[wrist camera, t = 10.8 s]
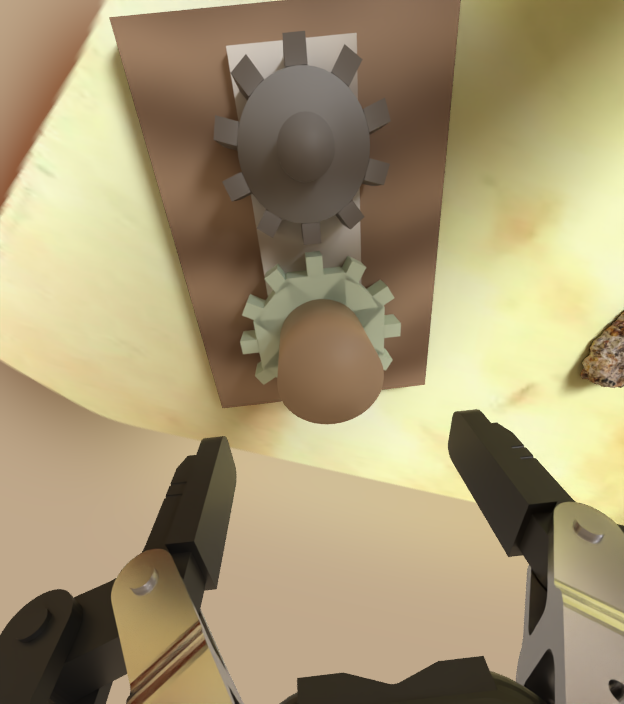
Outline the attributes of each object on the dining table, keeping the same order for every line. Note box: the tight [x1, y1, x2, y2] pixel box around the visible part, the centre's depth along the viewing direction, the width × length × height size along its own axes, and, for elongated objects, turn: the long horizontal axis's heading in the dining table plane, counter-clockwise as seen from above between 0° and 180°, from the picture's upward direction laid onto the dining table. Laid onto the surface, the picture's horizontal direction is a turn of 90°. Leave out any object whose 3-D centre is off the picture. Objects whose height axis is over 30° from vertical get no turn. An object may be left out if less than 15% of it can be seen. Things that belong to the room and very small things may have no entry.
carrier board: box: [109, 0, 461, 408], centre depth 18 cm, size 22×16×6 cm
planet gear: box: [240, 251, 401, 424], centre depth 18 cm, size 10×10×7 cm
